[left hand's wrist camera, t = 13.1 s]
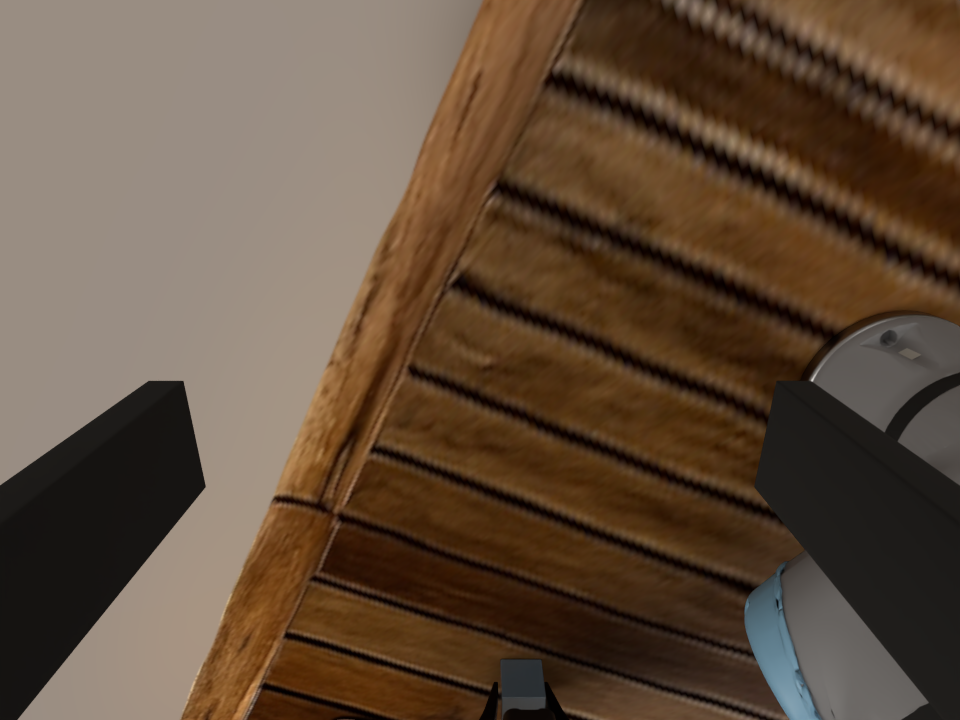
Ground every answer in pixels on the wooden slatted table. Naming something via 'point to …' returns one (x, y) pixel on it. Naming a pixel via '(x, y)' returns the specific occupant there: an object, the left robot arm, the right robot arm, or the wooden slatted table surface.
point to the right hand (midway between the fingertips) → (520, 684)
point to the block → (521, 685)
